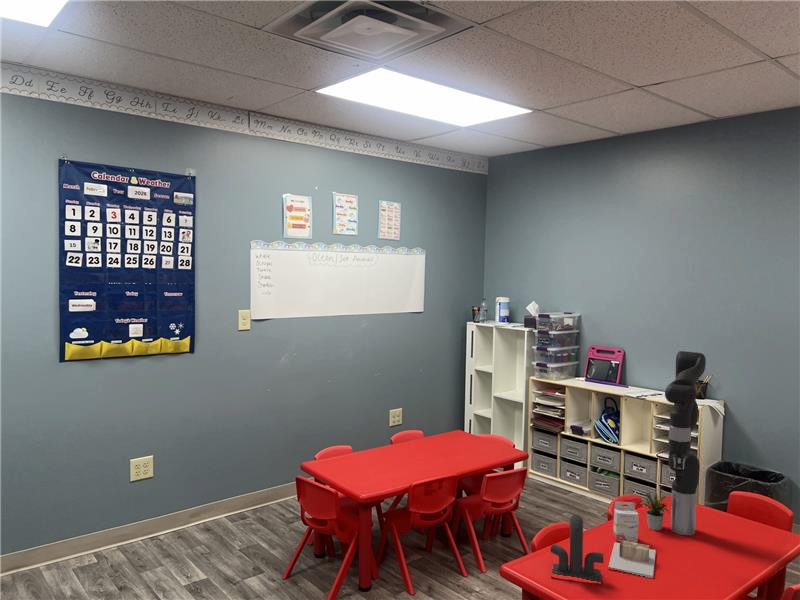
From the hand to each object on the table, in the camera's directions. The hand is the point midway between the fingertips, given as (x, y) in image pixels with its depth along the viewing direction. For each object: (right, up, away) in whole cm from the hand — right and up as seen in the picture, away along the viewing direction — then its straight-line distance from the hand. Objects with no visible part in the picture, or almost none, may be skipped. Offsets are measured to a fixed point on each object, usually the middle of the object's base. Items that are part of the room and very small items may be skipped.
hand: (678, 480), depth 225 cm
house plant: (+2, -29, +29) cm, 41 cm away
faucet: (-41, -31, -8) cm, 52 cm away
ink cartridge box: (-13, -30, +18) cm, 37 cm away
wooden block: (-12, -27, -2) cm, 29 cm away
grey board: (-17, -30, 0) cm, 35 cm away
